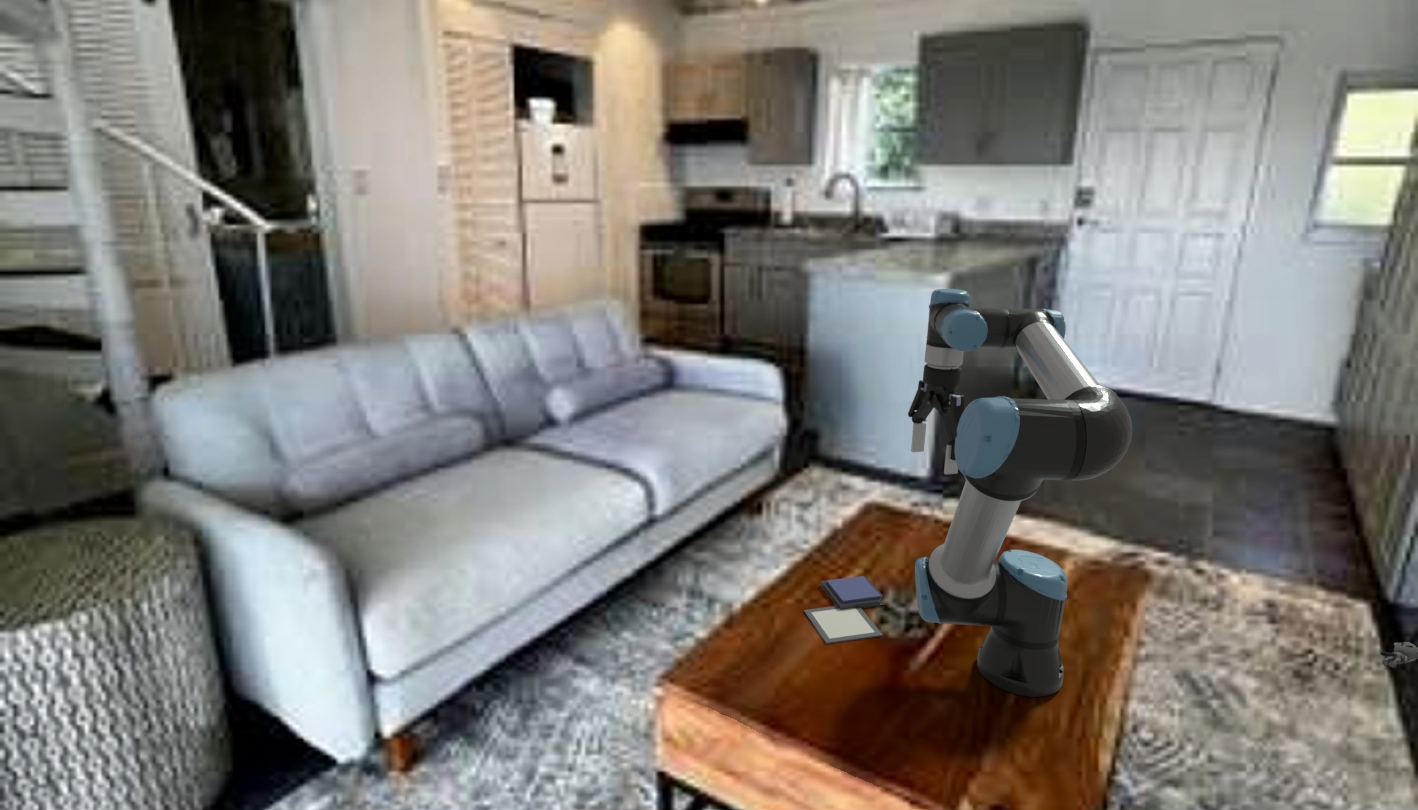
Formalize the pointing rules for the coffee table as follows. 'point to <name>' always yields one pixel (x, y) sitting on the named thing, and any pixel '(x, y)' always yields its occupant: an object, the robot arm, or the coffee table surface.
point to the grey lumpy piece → (1400, 654)
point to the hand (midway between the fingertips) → (933, 462)
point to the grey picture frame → (842, 624)
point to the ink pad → (852, 592)
